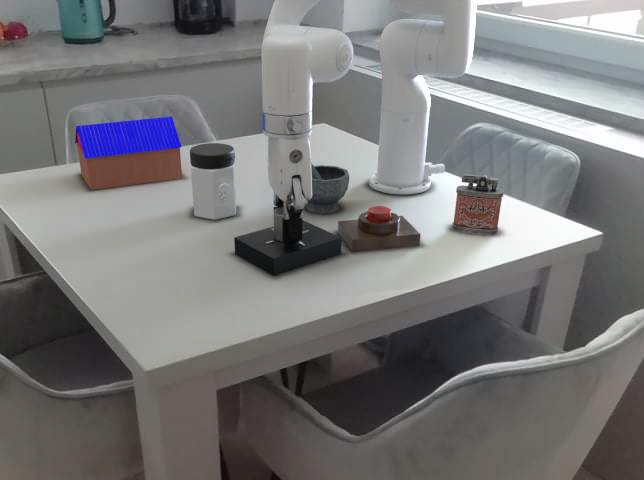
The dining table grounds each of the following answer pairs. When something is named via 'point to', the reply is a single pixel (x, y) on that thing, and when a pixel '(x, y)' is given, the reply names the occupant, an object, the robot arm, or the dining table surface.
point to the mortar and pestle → (327, 188)
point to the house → (129, 152)
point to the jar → (213, 180)
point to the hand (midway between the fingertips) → (287, 234)
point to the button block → (378, 233)
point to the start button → (379, 214)
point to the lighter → (478, 205)
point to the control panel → (287, 249)
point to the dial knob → (278, 223)
